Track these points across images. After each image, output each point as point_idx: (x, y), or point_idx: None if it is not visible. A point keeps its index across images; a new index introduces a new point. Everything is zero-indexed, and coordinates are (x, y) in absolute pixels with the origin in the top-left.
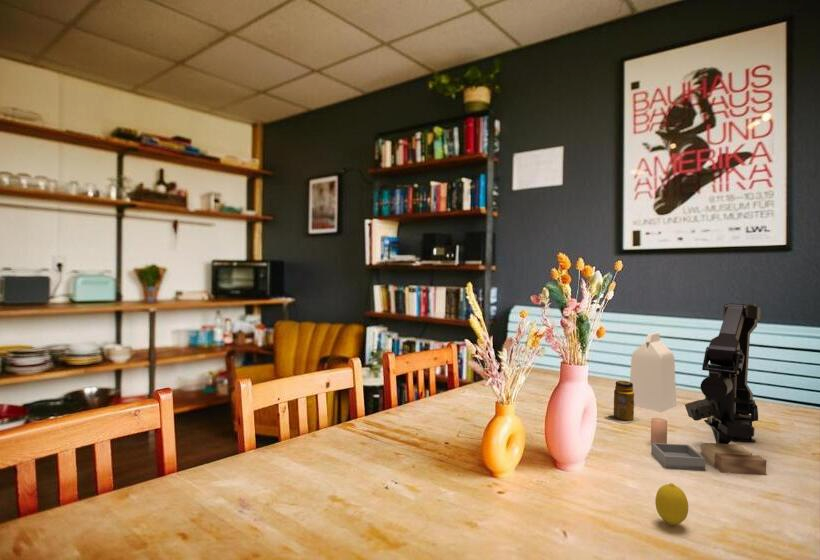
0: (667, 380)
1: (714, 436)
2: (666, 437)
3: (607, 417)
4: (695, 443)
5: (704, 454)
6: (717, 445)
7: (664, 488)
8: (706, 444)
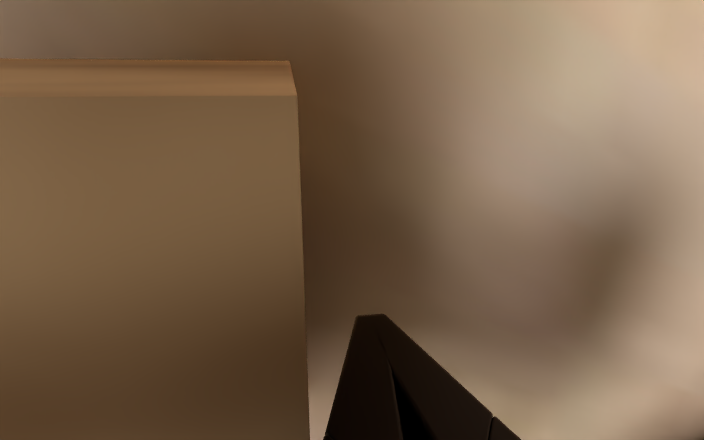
0: None
1: (487, 418)
2: None
3: None
4: (699, 196)
5: (183, 70)
6: (185, 333)
7: None
8: (188, 157)
